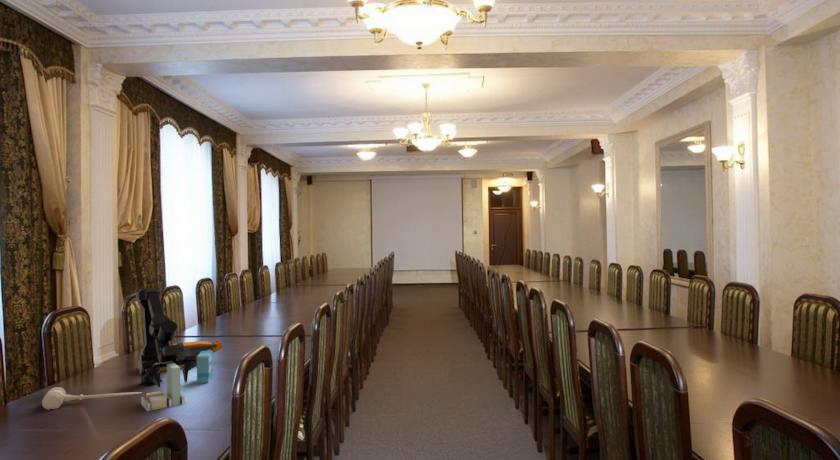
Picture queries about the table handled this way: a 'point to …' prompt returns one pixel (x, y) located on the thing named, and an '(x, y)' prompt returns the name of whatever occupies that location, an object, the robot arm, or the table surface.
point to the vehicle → (197, 349)
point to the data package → (204, 367)
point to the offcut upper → (156, 397)
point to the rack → (146, 405)
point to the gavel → (71, 397)
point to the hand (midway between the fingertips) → (172, 384)
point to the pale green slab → (173, 383)
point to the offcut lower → (158, 405)
